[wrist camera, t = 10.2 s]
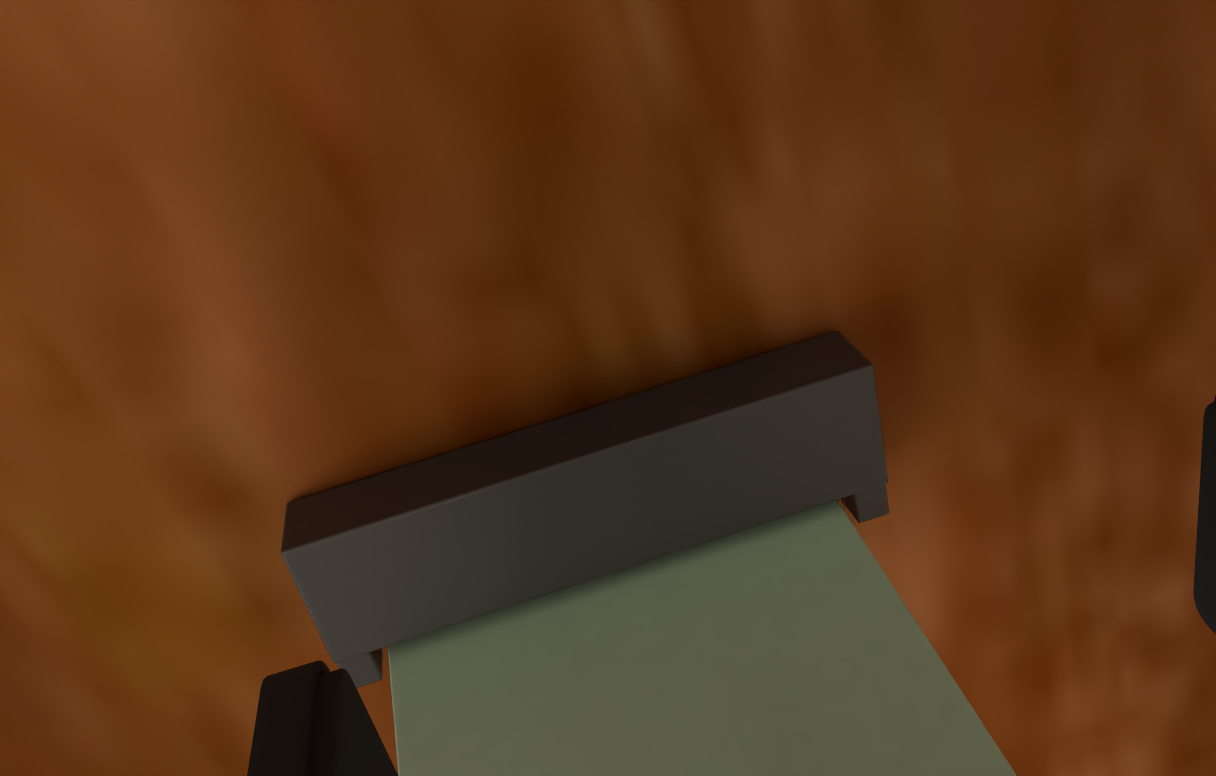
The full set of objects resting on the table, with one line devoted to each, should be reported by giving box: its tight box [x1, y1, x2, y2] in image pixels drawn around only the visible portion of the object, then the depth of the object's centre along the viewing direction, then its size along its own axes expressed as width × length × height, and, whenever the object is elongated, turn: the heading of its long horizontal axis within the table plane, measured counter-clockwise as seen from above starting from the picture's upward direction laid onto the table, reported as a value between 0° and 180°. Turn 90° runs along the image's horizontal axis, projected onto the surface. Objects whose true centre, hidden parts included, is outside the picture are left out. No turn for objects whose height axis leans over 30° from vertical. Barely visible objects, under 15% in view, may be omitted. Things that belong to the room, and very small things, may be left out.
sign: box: [388, 500, 1017, 776], centre depth 18 cm, size 13×11×6 cm
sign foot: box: [281, 332, 889, 688], centre depth 24 cm, size 4×13×2 cm, turn 103°
